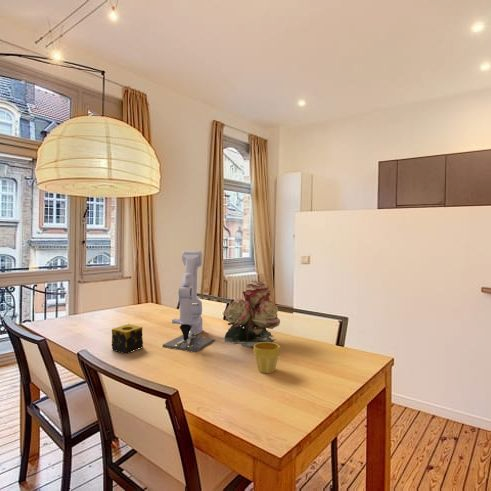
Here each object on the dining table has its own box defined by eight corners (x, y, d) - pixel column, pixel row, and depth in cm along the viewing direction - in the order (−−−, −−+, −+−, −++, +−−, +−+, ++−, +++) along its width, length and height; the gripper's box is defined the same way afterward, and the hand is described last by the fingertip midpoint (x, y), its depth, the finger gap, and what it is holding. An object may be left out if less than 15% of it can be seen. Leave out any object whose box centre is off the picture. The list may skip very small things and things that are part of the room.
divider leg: (188, 336, 179) (188, 330, 178) (194, 336, 179) (194, 330, 179) (185, 345, 165) (185, 339, 164) (191, 345, 165) (191, 339, 165)
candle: (128, 344, 171) (128, 323, 170) (143, 347, 166) (143, 326, 165) (111, 350, 162) (110, 328, 162) (126, 354, 157) (126, 332, 156)
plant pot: (263, 363, 148) (263, 339, 147) (284, 369, 141) (284, 345, 141) (248, 370, 140) (248, 346, 139) (269, 377, 133) (269, 352, 133)
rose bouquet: (217, 344, 171) (217, 282, 170) (245, 329, 197) (245, 275, 196) (266, 353, 159) (266, 287, 158) (289, 336, 185) (289, 279, 184)
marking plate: (183, 336, 184) (183, 332, 183) (214, 340, 177) (214, 336, 176) (162, 346, 167) (162, 342, 167) (195, 352, 160) (195, 347, 160)
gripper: (168, 311, 167) (168, 340, 168) (194, 315, 161) (194, 344, 162) (176, 308, 173) (176, 336, 174) (202, 311, 168) (202, 340, 168)
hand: (186, 339), depth 168 cm, fingers closed, pressing on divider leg
